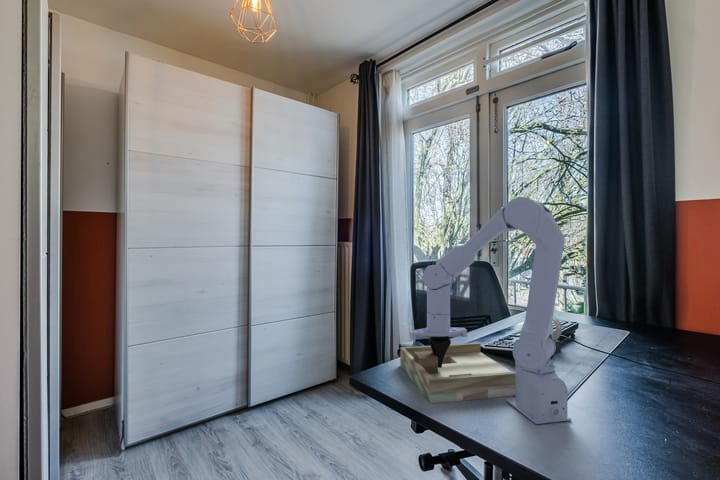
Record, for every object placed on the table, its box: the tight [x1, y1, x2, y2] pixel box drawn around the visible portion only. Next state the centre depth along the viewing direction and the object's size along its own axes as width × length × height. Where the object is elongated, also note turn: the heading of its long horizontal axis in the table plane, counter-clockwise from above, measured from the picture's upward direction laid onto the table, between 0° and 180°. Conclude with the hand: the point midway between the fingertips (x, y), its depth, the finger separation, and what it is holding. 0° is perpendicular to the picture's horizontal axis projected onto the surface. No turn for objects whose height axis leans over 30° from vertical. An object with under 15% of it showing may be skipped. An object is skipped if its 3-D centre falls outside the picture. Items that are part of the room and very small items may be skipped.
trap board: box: [399, 342, 516, 404], centre depth 84 cm, size 22×24×5 cm
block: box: [414, 351, 438, 374], centre depth 83 cm, size 4×4×4 cm
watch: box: [552, 315, 563, 353], centre depth 106 cm, size 6×8×11 cm
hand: (438, 366), depth 83 cm, fingers closed
